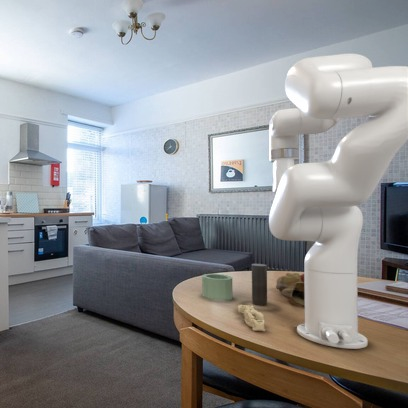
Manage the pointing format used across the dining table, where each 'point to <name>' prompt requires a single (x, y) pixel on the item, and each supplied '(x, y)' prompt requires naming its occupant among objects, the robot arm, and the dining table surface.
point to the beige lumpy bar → (252, 317)
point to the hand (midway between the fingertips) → (284, 211)
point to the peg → (259, 284)
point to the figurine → (292, 287)
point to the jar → (217, 286)
